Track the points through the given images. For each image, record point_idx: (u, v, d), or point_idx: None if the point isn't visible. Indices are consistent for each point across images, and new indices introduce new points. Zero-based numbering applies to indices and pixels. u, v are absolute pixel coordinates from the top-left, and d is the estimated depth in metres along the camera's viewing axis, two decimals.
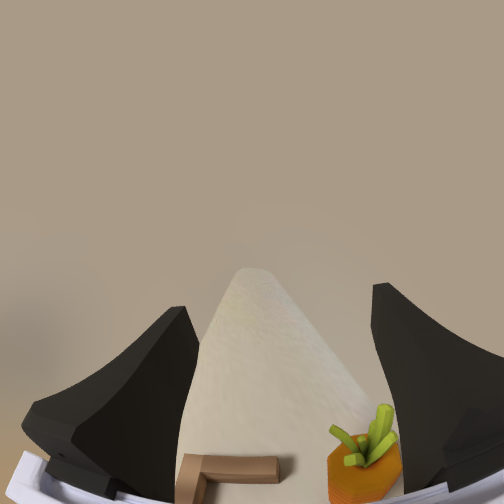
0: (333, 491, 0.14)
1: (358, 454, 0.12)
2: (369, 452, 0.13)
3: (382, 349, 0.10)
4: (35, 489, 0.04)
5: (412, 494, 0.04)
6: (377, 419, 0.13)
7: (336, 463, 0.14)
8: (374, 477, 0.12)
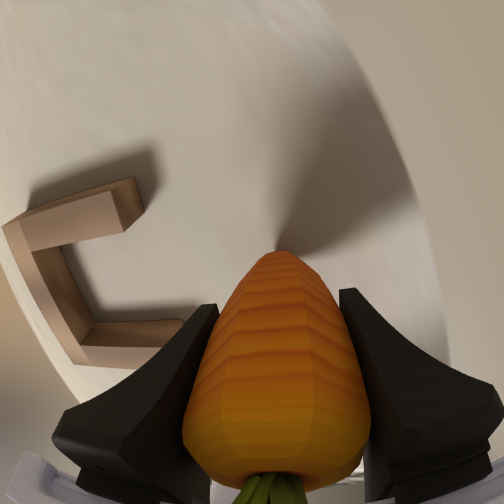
0: None
1: None
2: None
3: None
4: (35, 489, 0.04)
5: None
6: None
7: (205, 470, 0.06)
8: None
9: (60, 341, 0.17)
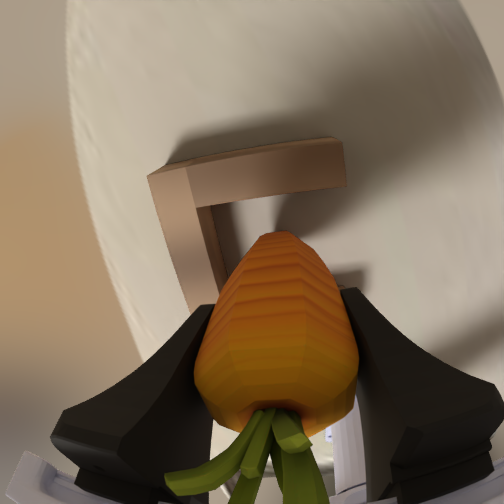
0: None
1: None
2: None
3: None
4: (35, 489, 0.04)
5: None
6: None
7: (213, 411, 0.08)
8: None
9: None
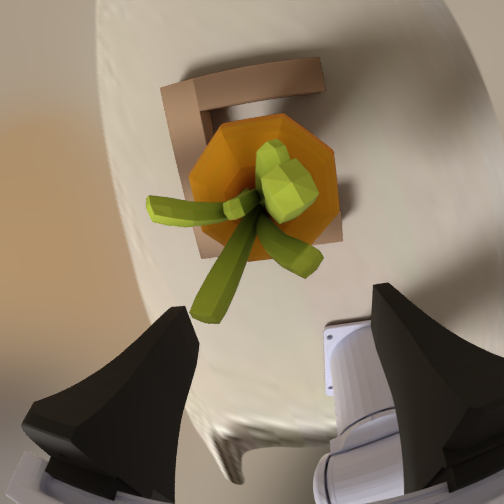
0: None
1: (222, 296, 0.06)
2: (264, 204, 0.08)
3: (382, 349, 0.10)
4: (35, 489, 0.04)
5: (412, 494, 0.04)
6: (266, 198, 0.05)
7: None
8: None
9: (195, 226, 0.19)
